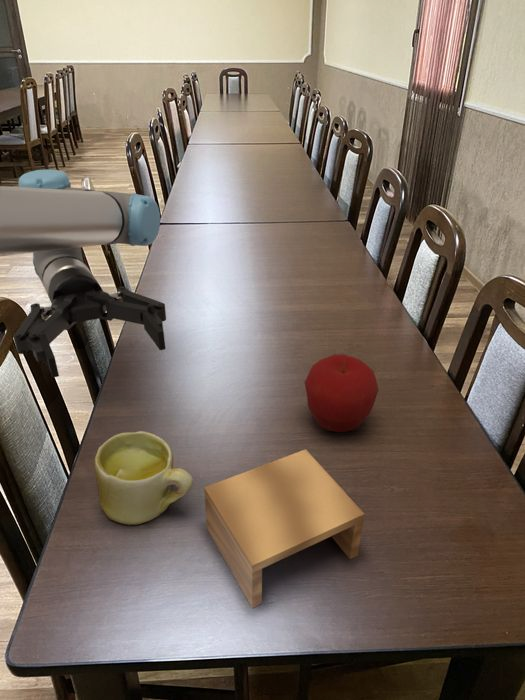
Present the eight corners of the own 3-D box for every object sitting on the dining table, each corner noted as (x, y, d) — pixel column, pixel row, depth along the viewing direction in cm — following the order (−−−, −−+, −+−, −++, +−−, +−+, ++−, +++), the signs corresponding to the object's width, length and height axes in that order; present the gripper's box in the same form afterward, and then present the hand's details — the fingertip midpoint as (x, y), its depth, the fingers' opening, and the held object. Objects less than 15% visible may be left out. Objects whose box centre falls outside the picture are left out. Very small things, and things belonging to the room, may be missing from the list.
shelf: (252, 608, 57) (252, 565, 53) (206, 528, 66) (203, 487, 62) (358, 555, 63) (364, 513, 59) (303, 488, 72) (305, 448, 68)
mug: (66, 504, 66) (84, 437, 63) (124, 474, 75) (143, 415, 72) (137, 563, 62) (161, 496, 58) (190, 525, 71) (213, 464, 67)
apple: (299, 403, 88) (303, 341, 82) (364, 402, 88) (372, 341, 82) (306, 448, 79) (310, 382, 72) (379, 447, 79) (389, 381, 73)
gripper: (153, 295, 90) (203, 354, 74) (-8, 329, 80) (10, 406, 64) (148, 253, 86) (200, 306, 70) (-22, 283, 76) (-6, 352, 60)
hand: (110, 353), depth 67 cm, fingers open, 13 cm apart
